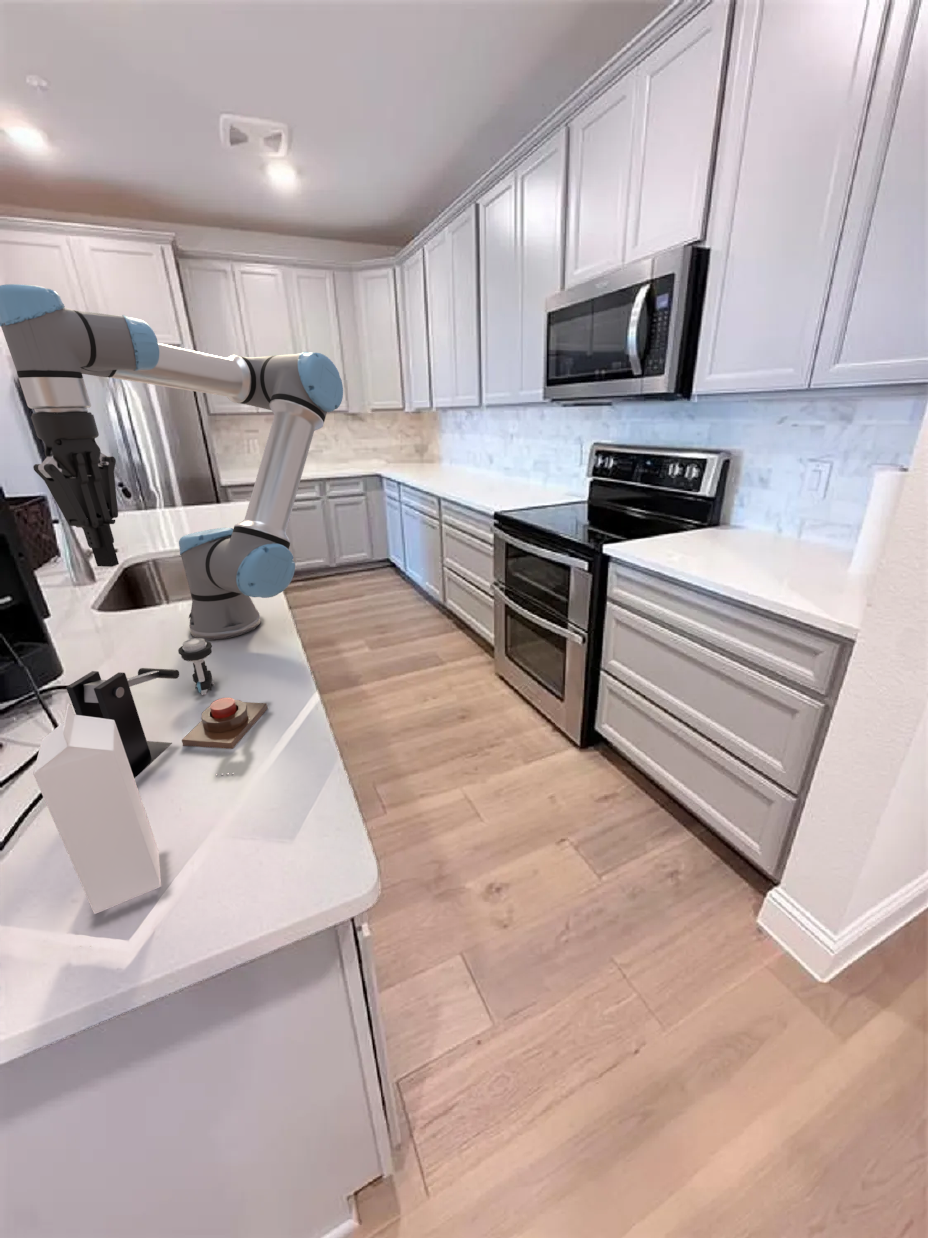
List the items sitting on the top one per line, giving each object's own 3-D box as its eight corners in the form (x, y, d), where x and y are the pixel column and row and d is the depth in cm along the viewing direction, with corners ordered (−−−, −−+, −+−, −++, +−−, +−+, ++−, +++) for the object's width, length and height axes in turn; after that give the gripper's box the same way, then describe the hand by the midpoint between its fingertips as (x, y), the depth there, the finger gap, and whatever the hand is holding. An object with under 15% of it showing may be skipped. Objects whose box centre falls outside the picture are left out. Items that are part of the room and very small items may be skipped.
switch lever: (144, 679, 80) (144, 664, 80) (179, 680, 80) (179, 665, 79) (71, 701, 67) (70, 684, 67) (112, 704, 67) (111, 686, 66)
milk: (161, 856, 59) (107, 691, 50) (164, 895, 54) (105, 721, 46) (98, 880, 56) (30, 710, 48) (95, 924, 51) (19, 743, 43)
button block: (224, 711, 87) (220, 691, 85) (268, 714, 86) (264, 693, 84) (184, 752, 77) (178, 729, 75) (234, 755, 76) (228, 733, 74)
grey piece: (221, 698, 91) (209, 648, 87) (188, 705, 89) (174, 654, 85) (221, 681, 96) (210, 633, 93) (190, 687, 95) (178, 639, 91)
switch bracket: (126, 745, 78) (98, 661, 73) (174, 749, 77) (149, 663, 72) (73, 791, 69) (35, 698, 64) (126, 795, 68) (93, 701, 63)
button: (220, 706, 82) (218, 696, 81) (241, 707, 81) (239, 698, 81) (207, 718, 78) (204, 709, 78) (229, 720, 78) (226, 710, 77)
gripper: (75, 410, 81) (117, 554, 90) (-4, 411, 69) (53, 577, 78) (117, 409, 80) (155, 554, 89) (45, 410, 68) (97, 578, 77)
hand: (108, 565), depth 84 cm, fingers closed
